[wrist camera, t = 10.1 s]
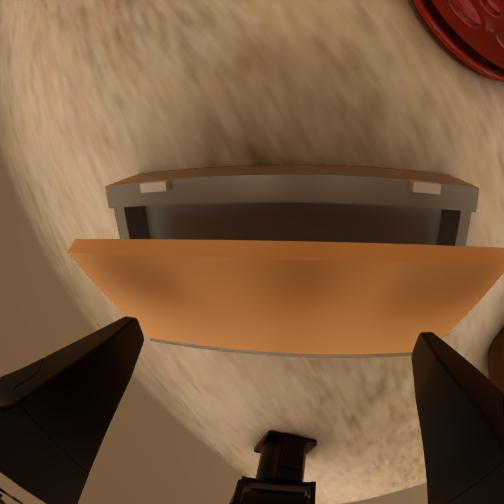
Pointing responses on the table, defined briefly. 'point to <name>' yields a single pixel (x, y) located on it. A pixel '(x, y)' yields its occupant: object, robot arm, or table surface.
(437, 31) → the plant pot
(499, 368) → the plant pot
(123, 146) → the table surface
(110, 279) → the cover
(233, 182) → the grey rectangular tray
